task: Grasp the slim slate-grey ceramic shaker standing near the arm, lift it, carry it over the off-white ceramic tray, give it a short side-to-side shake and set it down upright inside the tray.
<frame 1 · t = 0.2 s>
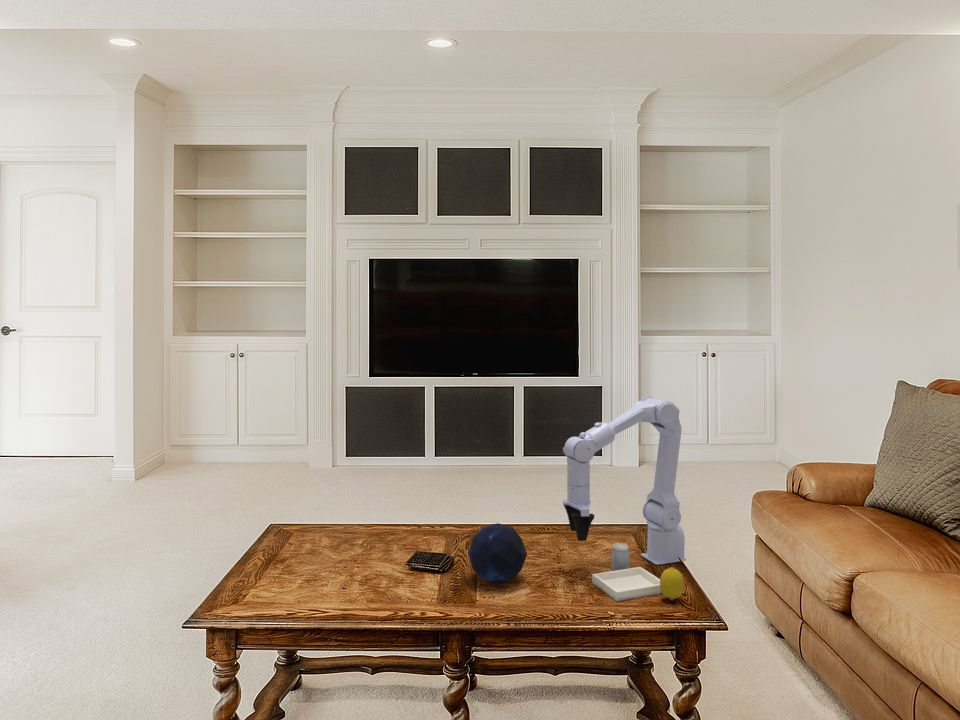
hand: (578, 535, 192), 10 cm above the table, fingers open, 7 cm apart
tray: (628, 587, 183), on the table
lemon: (671, 600, 176), on the table
decorative orb: (497, 581, 189), on the table
shaker: (620, 571, 194), on the table
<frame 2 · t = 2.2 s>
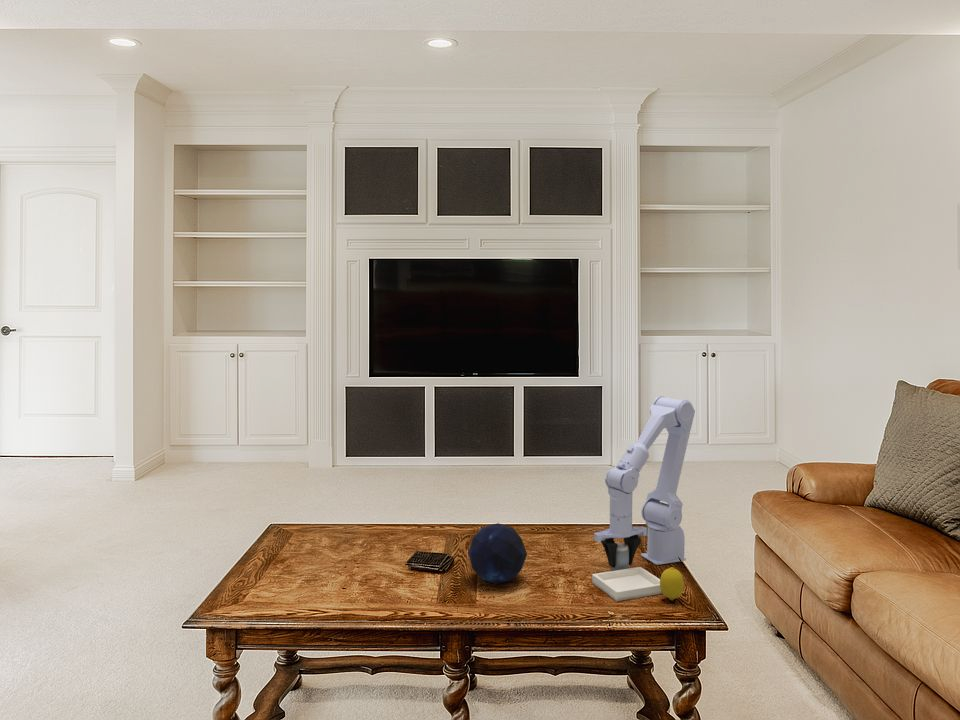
hand: (620, 565, 194), 2 cm above the table, fingers closed on shaker, 4 cm apart
shaker: (620, 571, 194), on the table, touching gripper
everything else where it was.
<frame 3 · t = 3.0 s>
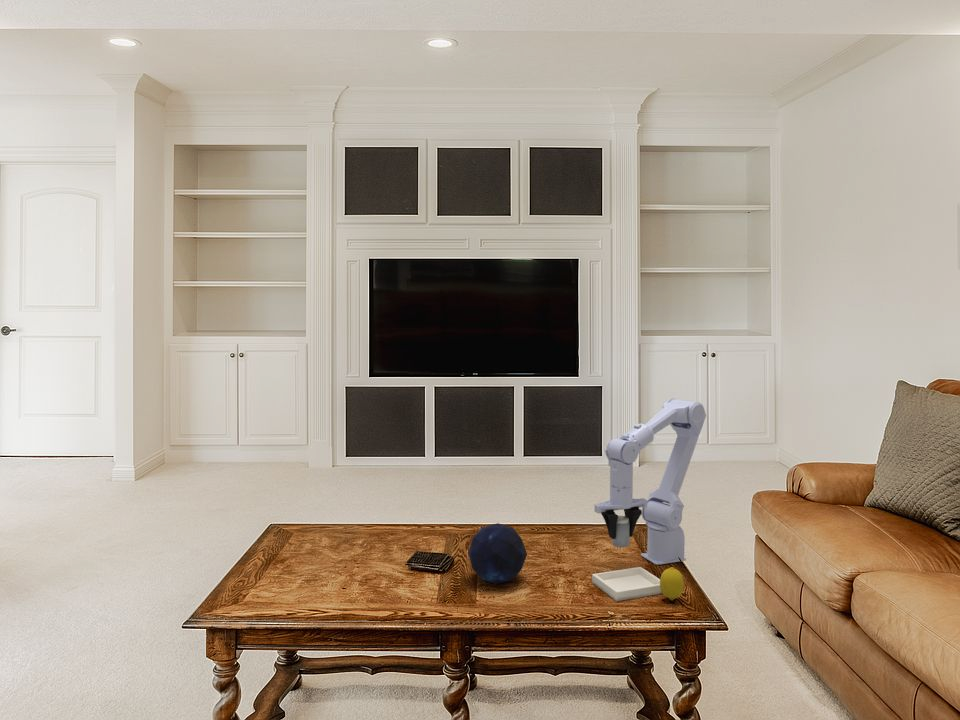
hand: (620, 536, 193), 9 cm above the table, fingers closed on shaker, 4 cm apart
shaker: (620, 544, 193), point 7 cm above the table, touching gripper
everything else where it was.
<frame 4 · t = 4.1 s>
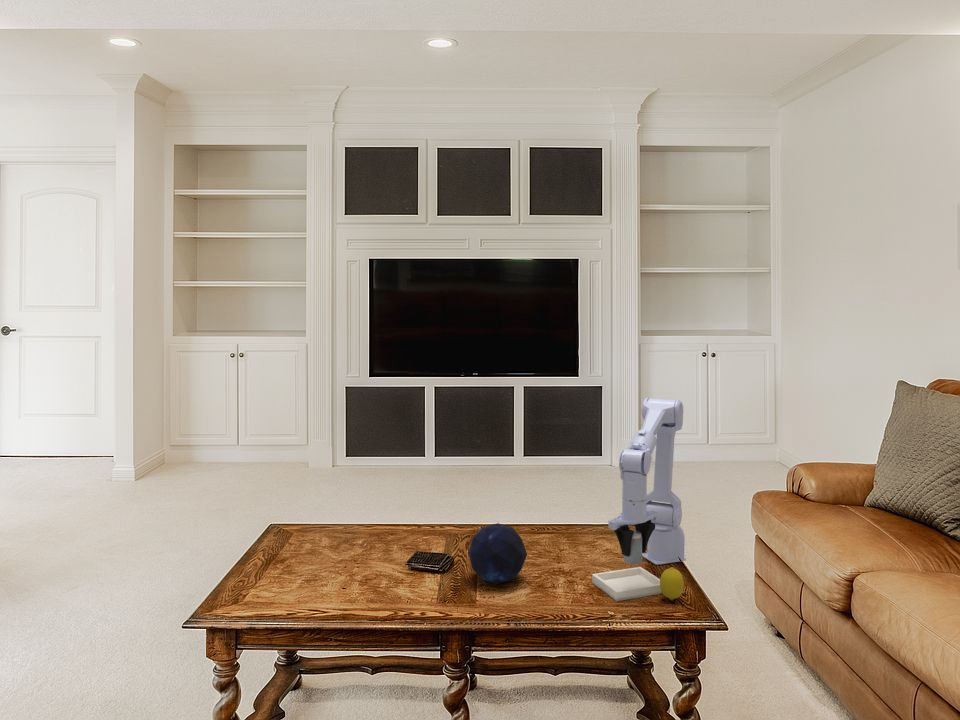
hand: (633, 553, 181), 9 cm above the table, fingers closed on shaker, 4 cm apart
shaker: (633, 561, 181), point 7 cm above the table, touching gripper
everything else where it was.
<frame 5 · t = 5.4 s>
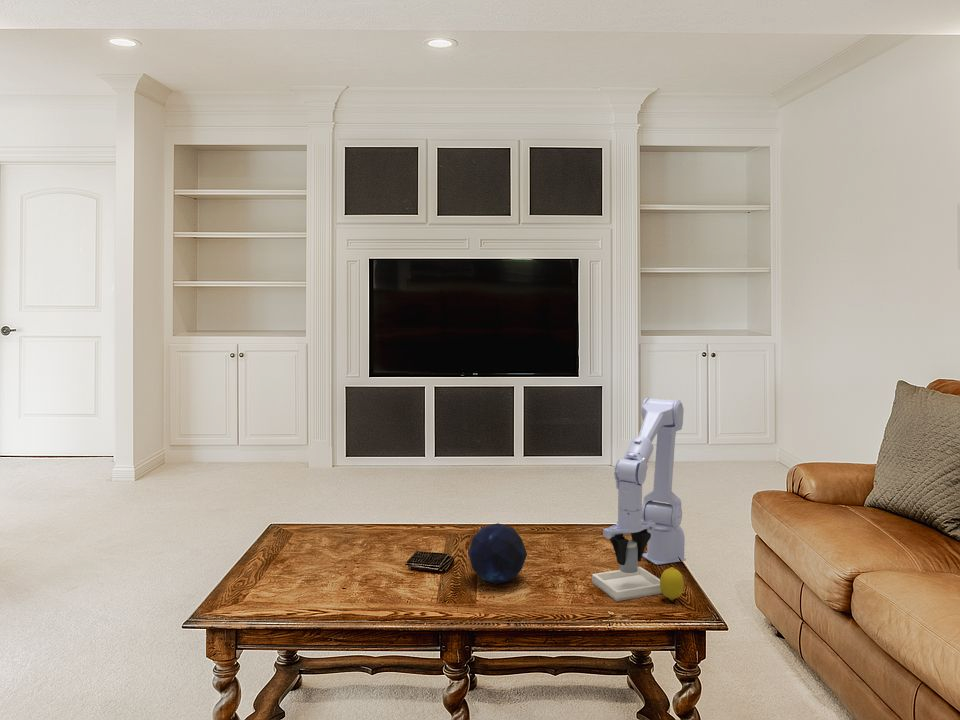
hand: (629, 562, 183), 7 cm above the table, fingers closed on shaker, 4 cm apart
shaker: (628, 569, 183), point 4 cm above the table, touching gripper
everything else where it was.
when the fingers open (3 cm above the table, at t = 6.4 s): shaker stays where it is, resting on tray.
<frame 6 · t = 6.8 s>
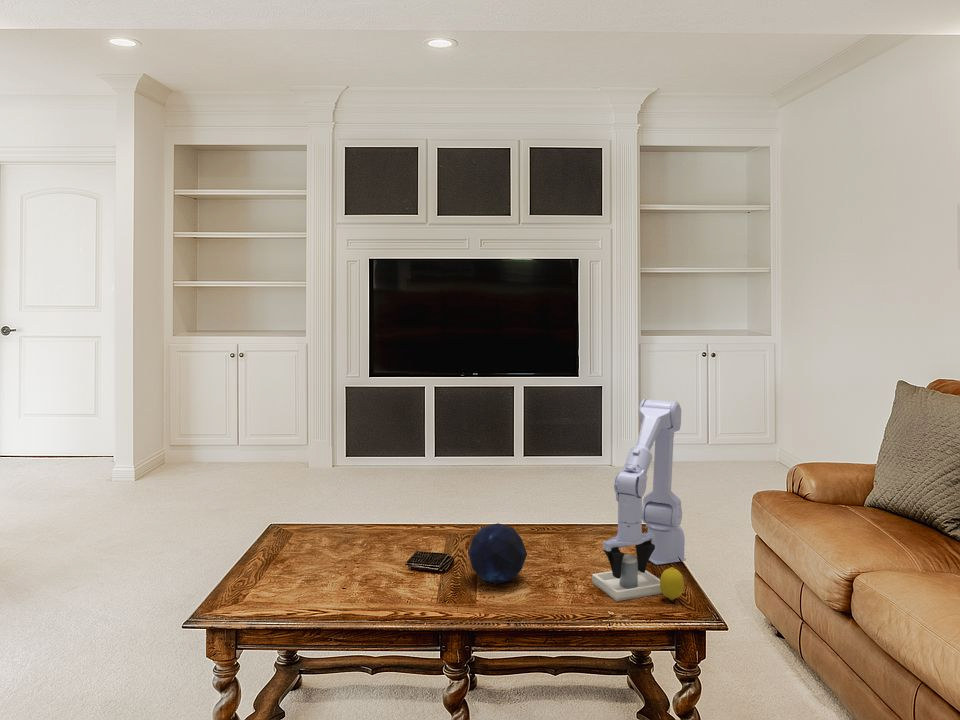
hand: (629, 574, 183), 3 cm above the table, fingers open, 7 cm apart
shaker: (628, 584, 183), point 1 cm above the table, touching tray
everything else where it was.
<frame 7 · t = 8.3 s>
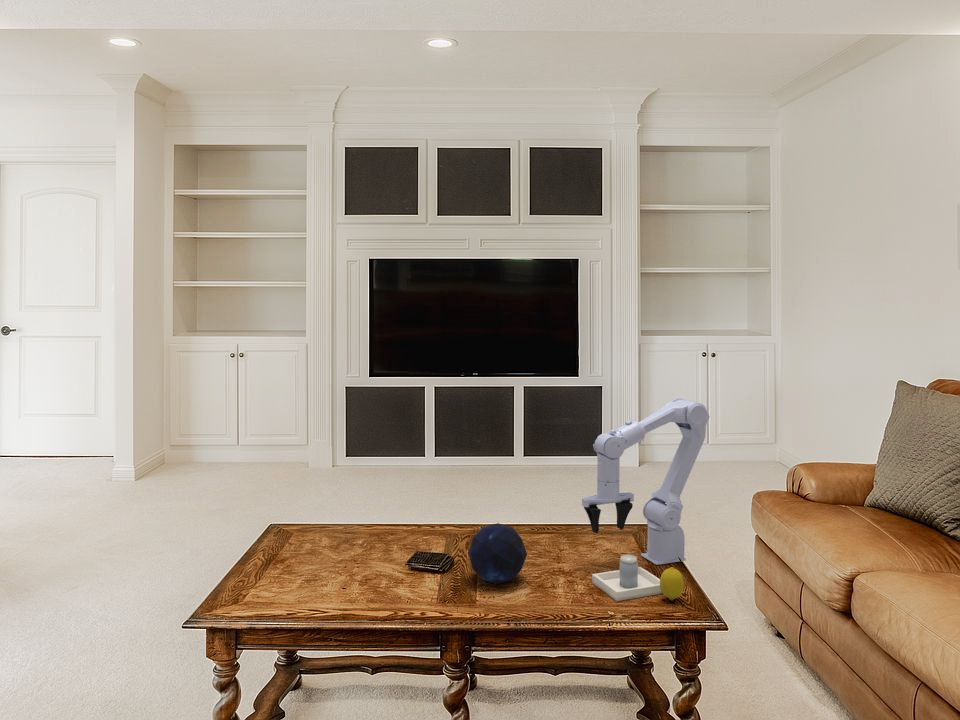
hand: (607, 530, 196), 10 cm above the table, fingers open, 7 cm apart
nothing on the table moved.
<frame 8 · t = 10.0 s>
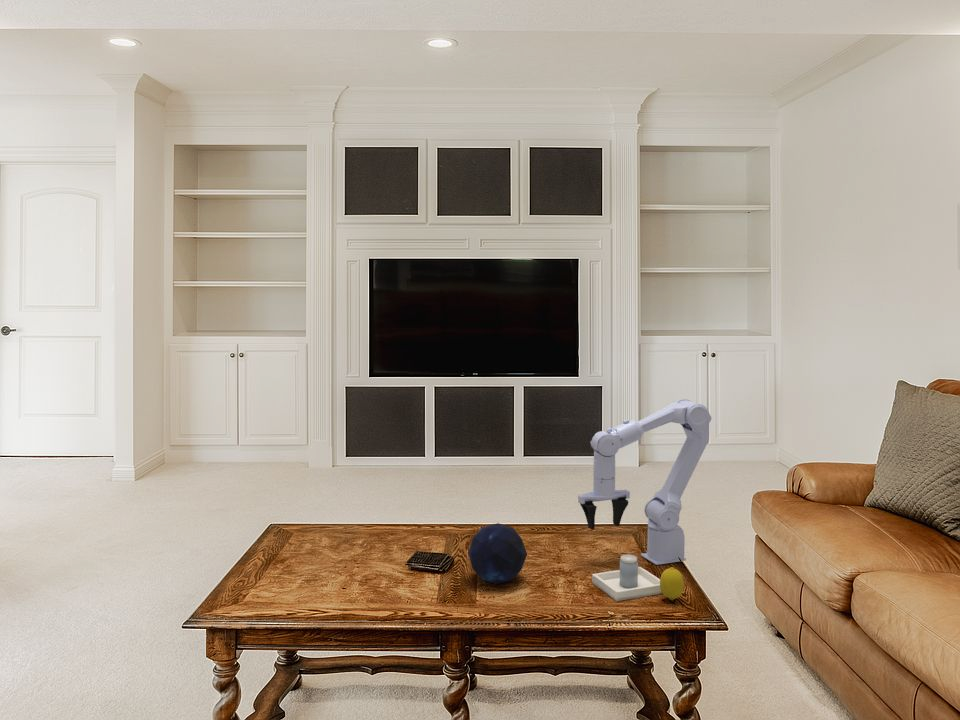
hand: (603, 526, 199), 10 cm above the table, fingers open, 7 cm apart
nothing on the table moved.
at the end: shaker inside the target area on the tray (0.2 cm from its centre), point 0.6 cm above the tray's base; shaker tilted 0°; the gripper is holding nothing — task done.
